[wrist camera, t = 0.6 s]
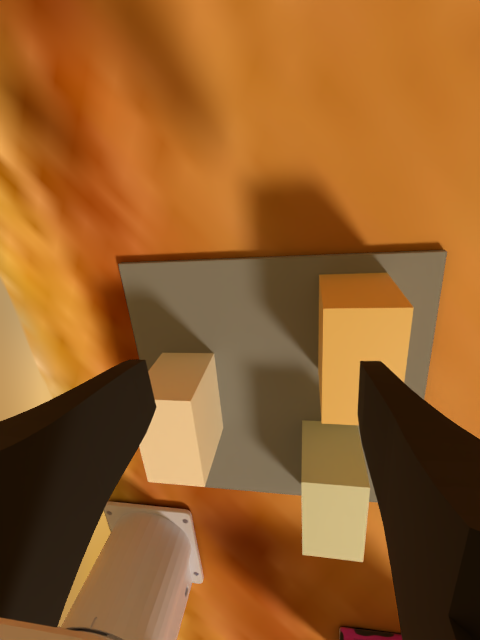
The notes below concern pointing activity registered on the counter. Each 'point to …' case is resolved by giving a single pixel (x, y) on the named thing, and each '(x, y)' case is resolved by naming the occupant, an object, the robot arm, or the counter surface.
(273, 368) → the rubber mat
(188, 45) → the counter surface
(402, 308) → the mustard block
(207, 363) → the cream block
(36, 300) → the counter surface
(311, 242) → the counter surface
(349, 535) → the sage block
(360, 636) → the candy bar box
